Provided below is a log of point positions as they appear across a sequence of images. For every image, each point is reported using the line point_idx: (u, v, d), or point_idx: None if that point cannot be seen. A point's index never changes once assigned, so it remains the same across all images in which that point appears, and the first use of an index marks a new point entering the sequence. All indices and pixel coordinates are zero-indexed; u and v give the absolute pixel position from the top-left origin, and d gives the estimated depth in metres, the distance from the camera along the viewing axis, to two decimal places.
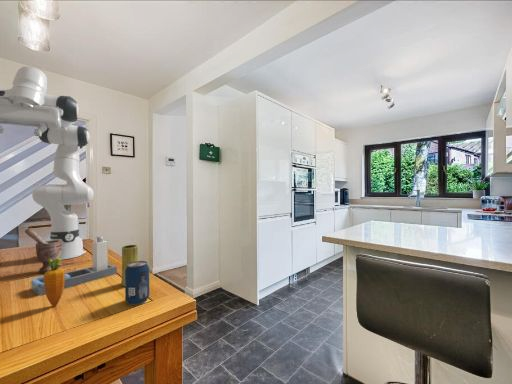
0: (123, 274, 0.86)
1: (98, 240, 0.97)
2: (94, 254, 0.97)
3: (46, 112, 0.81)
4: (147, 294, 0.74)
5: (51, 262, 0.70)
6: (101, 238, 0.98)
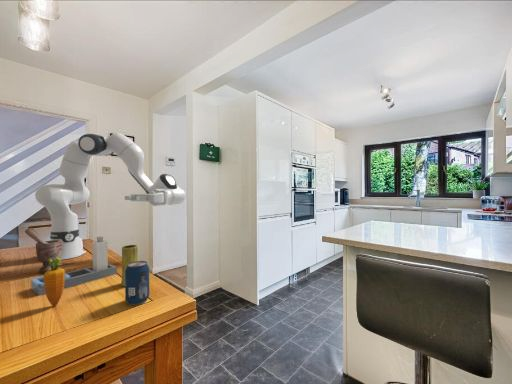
0: (123, 274, 0.86)
1: (98, 240, 0.97)
2: (94, 254, 0.97)
3: None
4: (147, 294, 0.74)
5: (51, 262, 0.70)
6: (101, 238, 0.98)
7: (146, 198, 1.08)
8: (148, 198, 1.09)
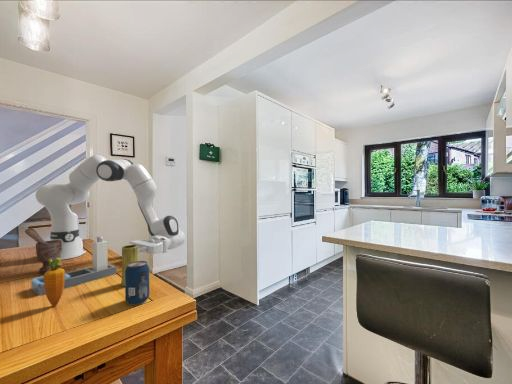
0: (123, 274, 0.86)
1: (98, 240, 0.97)
2: (94, 254, 0.97)
3: None
4: (147, 294, 0.74)
5: (51, 262, 0.70)
6: (101, 238, 0.98)
7: (145, 250, 1.08)
8: (147, 250, 1.09)
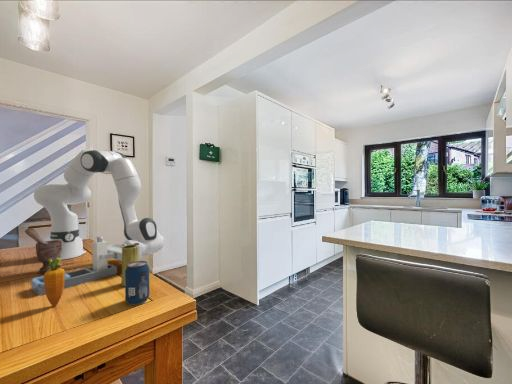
0: (123, 274, 0.86)
1: (98, 240, 0.97)
2: (94, 254, 0.97)
3: None
4: (147, 294, 0.74)
5: (51, 262, 0.70)
6: (101, 238, 0.98)
7: (113, 256, 0.98)
8: (117, 256, 0.97)
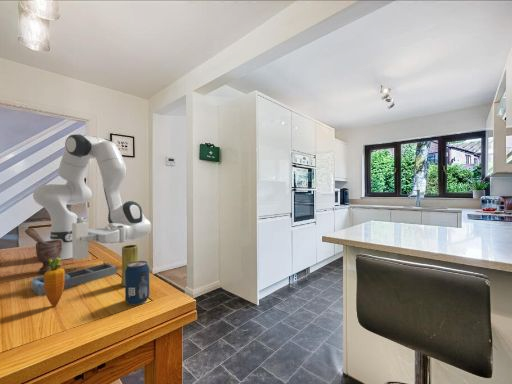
0: (123, 274, 0.86)
1: (78, 221, 0.91)
2: (73, 236, 0.91)
3: None
4: (147, 294, 0.74)
5: (51, 262, 0.70)
6: (81, 219, 0.92)
7: (94, 238, 0.92)
8: (99, 238, 0.91)
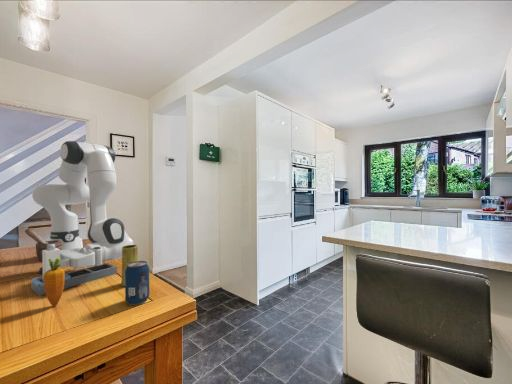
0: (123, 274, 0.86)
1: (48, 248, 0.84)
2: (43, 264, 0.83)
3: None
4: (147, 294, 0.74)
5: (51, 262, 0.70)
6: (52, 246, 0.84)
7: (68, 263, 0.84)
8: (71, 263, 0.84)
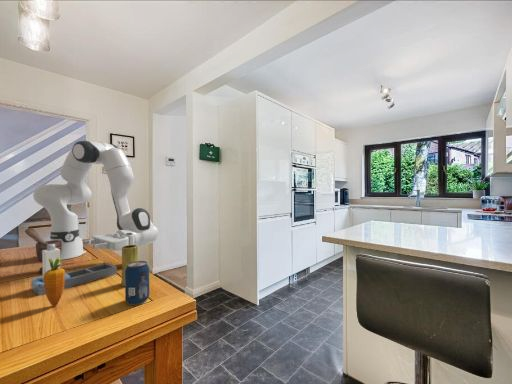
0: (123, 274, 0.86)
1: (48, 248, 0.84)
2: (43, 264, 0.83)
3: None
4: (147, 294, 0.74)
5: (51, 262, 0.70)
6: (52, 246, 0.84)
7: (106, 246, 0.95)
8: (109, 246, 0.95)
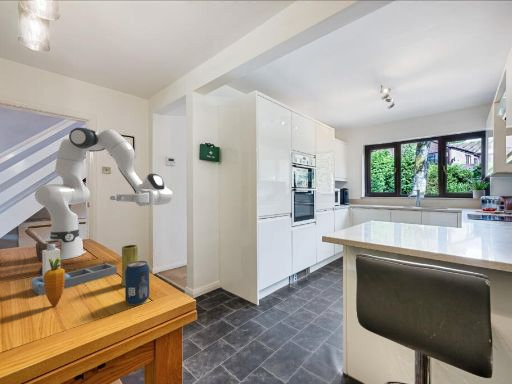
0: (123, 274, 0.86)
1: (48, 248, 0.84)
2: (43, 264, 0.83)
3: None
4: (147, 294, 0.74)
5: (51, 262, 0.70)
6: (52, 246, 0.84)
7: (131, 198, 1.09)
8: (133, 198, 1.09)
